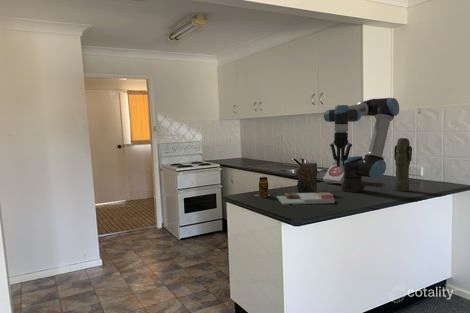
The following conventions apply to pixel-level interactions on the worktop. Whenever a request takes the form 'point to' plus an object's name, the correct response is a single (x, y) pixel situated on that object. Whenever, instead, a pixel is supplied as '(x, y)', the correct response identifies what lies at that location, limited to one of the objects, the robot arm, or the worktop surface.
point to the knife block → (307, 178)
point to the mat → (289, 200)
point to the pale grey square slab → (314, 198)
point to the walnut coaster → (291, 195)
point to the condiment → (263, 187)
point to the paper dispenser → (334, 174)
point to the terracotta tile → (325, 195)
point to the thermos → (402, 164)
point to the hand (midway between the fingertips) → (340, 172)
